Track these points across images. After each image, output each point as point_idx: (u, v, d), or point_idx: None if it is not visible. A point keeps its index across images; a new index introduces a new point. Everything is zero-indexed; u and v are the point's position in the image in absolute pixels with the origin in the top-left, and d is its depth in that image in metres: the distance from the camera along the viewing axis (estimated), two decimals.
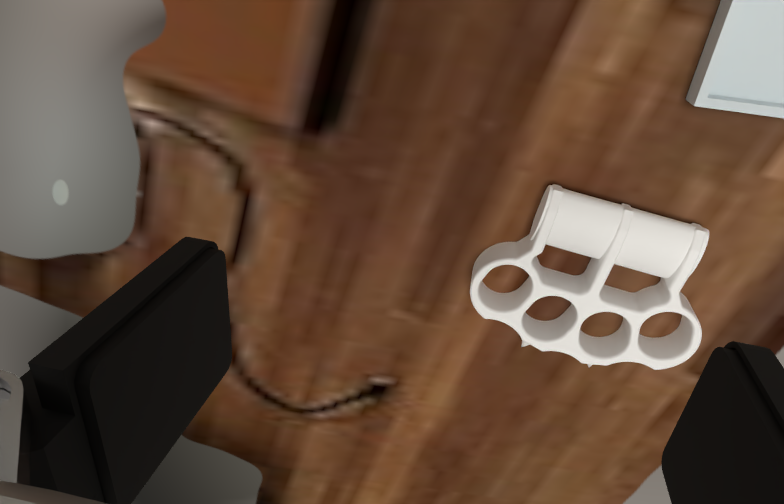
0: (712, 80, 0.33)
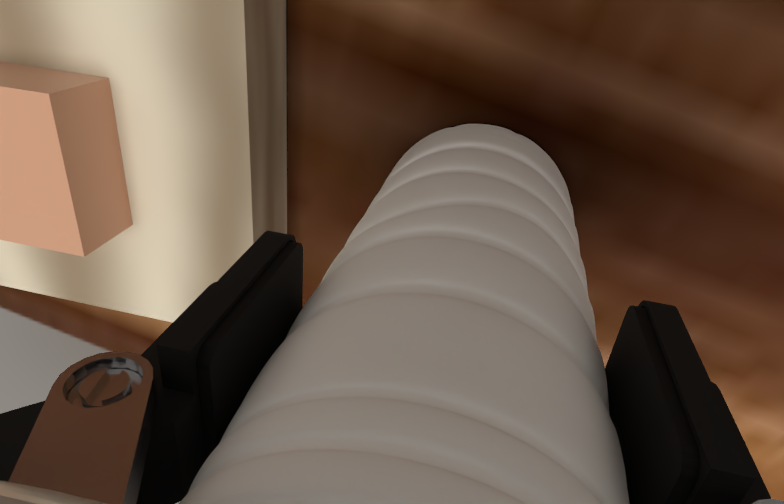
0: None
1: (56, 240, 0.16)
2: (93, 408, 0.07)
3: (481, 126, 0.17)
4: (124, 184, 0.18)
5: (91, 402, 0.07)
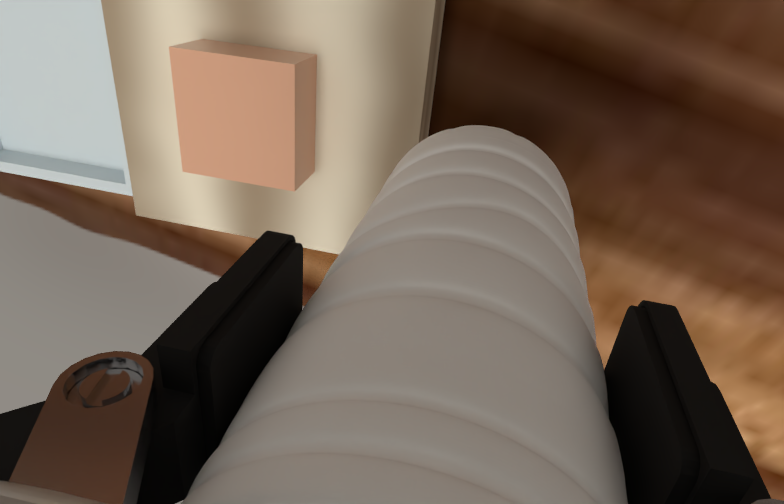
0: None
1: (274, 178, 0.22)
2: (93, 408, 0.07)
3: (481, 128, 0.17)
4: (314, 138, 0.23)
5: (91, 402, 0.07)
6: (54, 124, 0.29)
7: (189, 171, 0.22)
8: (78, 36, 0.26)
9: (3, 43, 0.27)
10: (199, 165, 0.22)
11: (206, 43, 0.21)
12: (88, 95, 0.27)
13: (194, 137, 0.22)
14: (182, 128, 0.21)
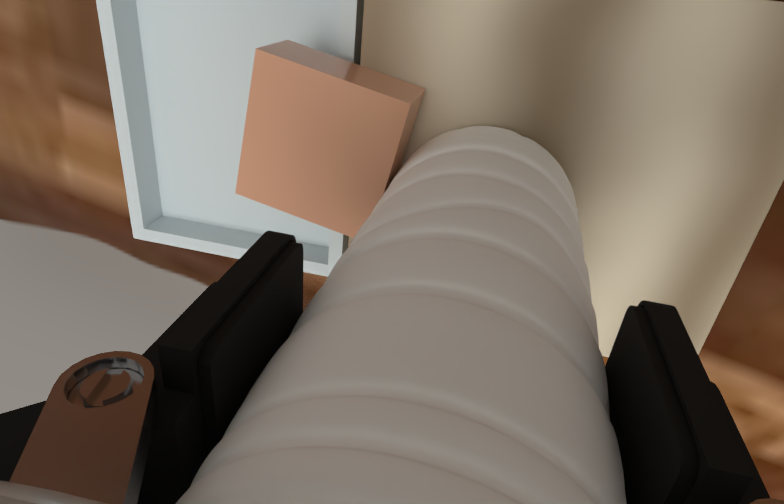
0: None
1: (347, 224, 0.18)
2: (94, 408, 0.07)
3: (487, 128, 0.17)
4: None
5: (92, 402, 0.07)
6: (233, 190, 0.24)
7: (244, 194, 0.18)
8: None
9: (186, 97, 0.22)
10: (258, 190, 0.18)
11: (296, 49, 0.17)
12: None
13: (260, 158, 0.18)
14: (248, 145, 0.18)
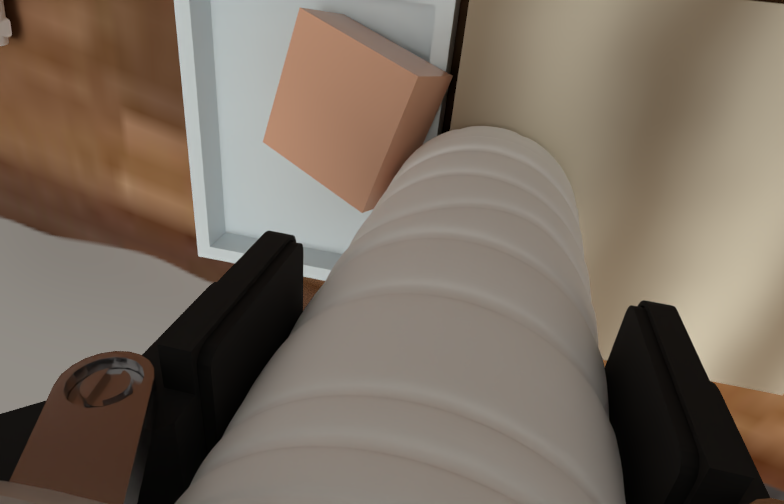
0: None
1: (347, 190, 0.19)
2: (94, 408, 0.07)
3: (487, 128, 0.17)
4: None
5: (92, 402, 0.07)
6: (302, 207, 0.24)
7: (269, 144, 0.20)
8: None
9: (258, 113, 0.22)
10: (280, 142, 0.20)
11: (343, 19, 0.19)
12: None
13: (287, 112, 0.19)
14: (279, 97, 0.19)
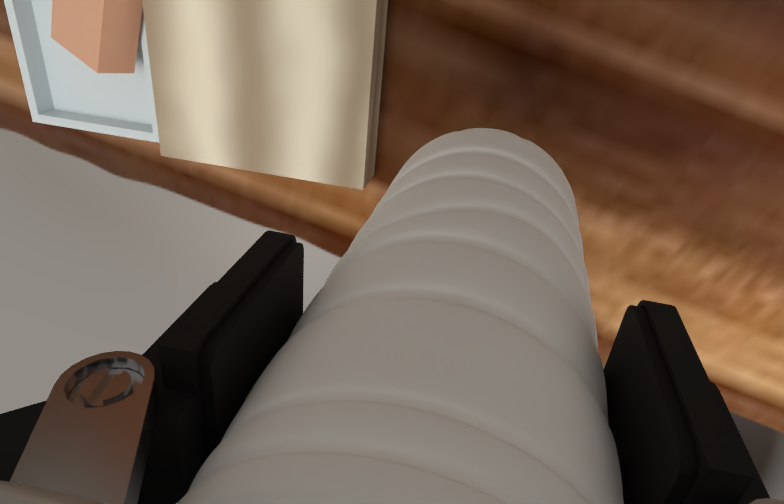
0: None
1: (89, 60, 0.32)
2: (94, 408, 0.07)
3: (487, 131, 0.17)
4: (135, 49, 0.33)
5: (92, 402, 0.07)
6: (96, 88, 0.37)
7: (53, 38, 0.33)
8: None
9: None
10: (58, 36, 0.33)
11: None
12: None
13: (58, 16, 0.33)
14: (54, 8, 0.33)
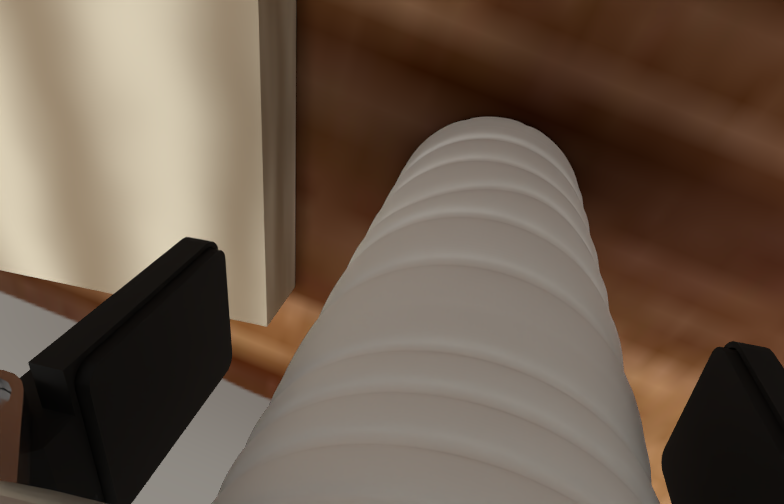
0: None
1: None
2: None
3: (493, 118, 0.17)
4: None
5: None
6: None
7: None
8: None
9: None
10: None
11: None
12: None
13: None
14: None
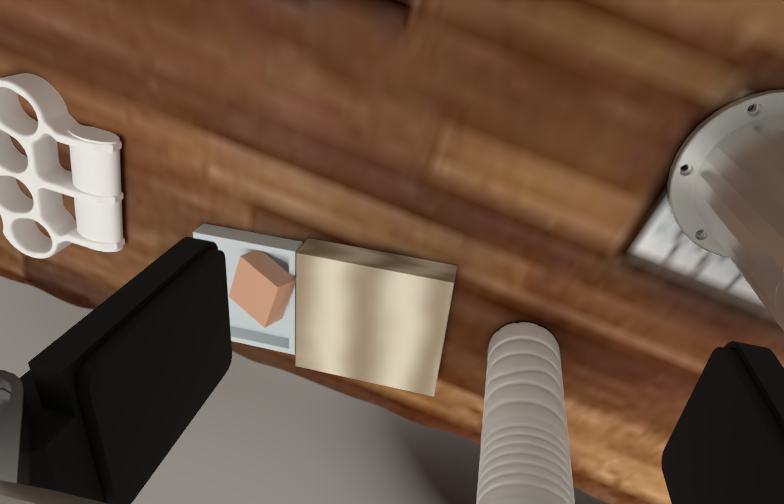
0: (209, 240, 0.49)
1: (258, 319, 0.49)
2: None
3: (527, 325, 0.48)
4: (285, 307, 0.51)
5: None
6: (248, 314, 0.55)
7: (231, 297, 0.51)
8: None
9: (228, 278, 0.53)
10: (235, 298, 0.51)
11: (257, 255, 0.50)
12: None
13: (237, 288, 0.50)
14: (234, 282, 0.50)
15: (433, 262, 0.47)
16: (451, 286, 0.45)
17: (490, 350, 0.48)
